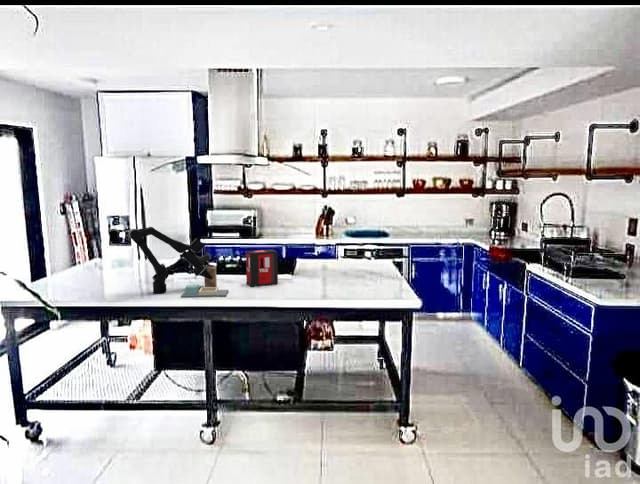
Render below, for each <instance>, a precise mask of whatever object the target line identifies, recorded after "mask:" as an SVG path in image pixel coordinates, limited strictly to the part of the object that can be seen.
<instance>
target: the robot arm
mask: <svg viewBox="0 0 640 484" xmlns="http://www.w3.org/2000/svg"><path fill="white" fill-rule="evenodd" d="M150 235H151V236H153V237H155V238H157V239H158V240H159V241H162V242H164V243H165V244H167V245H169V247H171V248H172V249H173V250H175V252H177V253H179V260H182V259H183V258H184V259H185V261H187V262H188V263H189V266H192V267H193V268H194V269H195V271H194V274H195V275H196V277H197V276H199V277H203V278H204V277H206V278H208V279H213V278H212V276H211V275H210V274H209V273H208V271H207V267H210V260H211V259H212V256H211V254H210V252H204V253H203V255H202V256H199V255H196V253H197V254H199V253H200V252H201V251H202V250H203V249H204V248H205V246H206V245H205V244H204V243H203V241H200V240H199V239H198V238H196V237H195V238H194V240H193V241H192V242H191V243H190V244H189V243H183V242H182V241H179V240H176V239H173V238H171V237H169V236H167V235H166V234H164V233H162V231H159V230H158V229H156V228H154V227H153V226H148V227H144V228H139V229H137V228H132V229H130V230H129V232H128V236H129V238H130V239H131V240H132V241H134V243H135V244H136V245H137V246H138V247H139V248H140V250H141V251H142V253H143V254H144V255H145V257H146V259H147V260H148V261H149V263H150V264H151V265H152V268H153V270H154V272H155V273H154V275H152V280H153V281H152V295H159V294H163V295H164V294H166V292H167V283H166V279H168V277H169V275H170V274H169V269H167V267H166V265H165V264H164V263H163V262H162V263H160V262H159V261H158V259H157V257H156V256H155V255H154V253H153V252H152V251H151V249H150V248H149V246H148V245H147V244H146V242H145V239H144V237H148V236H150ZM205 267H206V268H205Z"/></svg>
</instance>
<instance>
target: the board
mask: <svg viewBox="0 0 640 484" xmlns="http://www.w3.org/2000/svg"><path fill="white" fill-rule="evenodd" d="M228 293H229V289H219V287H218V286H217V287H205V286H201V287H200V289H199V284H187V285H186V286H185V288H184V291H183V293H181V295H180V298H184V299H185V298H186V299H187V298H225V297H226V298H227V297H228Z"/></svg>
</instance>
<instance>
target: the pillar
mask: <svg viewBox="0 0 640 484" xmlns="http://www.w3.org/2000/svg"><path fill="white" fill-rule="evenodd" d="M205 268H206V267H205ZM207 271H208V273H209V274H210V275H211V276H212V278H213V279H208V278H206V277H203V278H204V287H218V286H217V266H209V267H207Z"/></svg>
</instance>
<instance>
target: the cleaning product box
mask: <svg viewBox="0 0 640 484" xmlns="http://www.w3.org/2000/svg"><path fill="white" fill-rule="evenodd" d="M278 263H279V261H278V251H277V250H274V249H257V250H246V251H245V269H246V270H245V271H246V273H245V274H246V285H247V286H249V288H257V287H259V288H260V287H267V286H276V285H277V284H278V285H279V282H278V281H279V280H278V279H279V278H278V277H279V276H278V275H279V270H278V269H279V266H278Z"/></svg>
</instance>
